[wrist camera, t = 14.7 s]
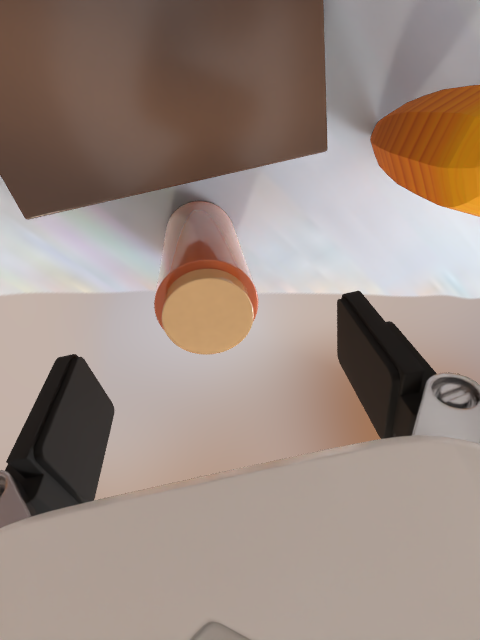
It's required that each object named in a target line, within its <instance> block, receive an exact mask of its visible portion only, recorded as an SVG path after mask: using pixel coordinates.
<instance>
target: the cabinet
mask: <svg viewBox="0 0 480 640" xmlns="http://www.w3.org/2000/svg"><path fill="white" fill-rule="evenodd" d="M325 151H327V117H326V80H325V43H324V5H323V0H0V175H1V177H2V179H3V180H4V182H5V184H6V186H7V187H8V189H9V191H10V193H11V194H12V196H13V198H14V200H15V201H16V203H17V205H18V207H19V208H20V210H21V212H22V214H23V215H24V217H25V219H33V218H37V217H41V216H46V215H50V214H54V213H59V212H63V211H68V210H72V209H76V208H81V207H85V206H89V205H94V204H98V203H103V202H107V201H111V200H116V199H120V198H124V197H129V196H133V195H138V194H142V193H146V192H151V191H155V190H159V189H164V188H168V187H172V186H177V185H181V184H186V183H190V182H194V181H199V180H203V179H207V178H212V177H216V176H221V175H225V174H229V173H234V172H238V171H242V170H247V169H251V168H256V167H260V166H264V165H269V164H273V163H277V162H282V161H286V160H291V159H295V158H299V157H304V156H308V155H312V154H317V153H321V152H325Z"/></svg>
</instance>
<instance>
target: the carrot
mask: <svg viewBox="0 0 480 640" xmlns="http://www.w3.org/2000/svg"><path fill="white" fill-rule="evenodd" d="M370 140H371V144H372V147H373V150H374V154H375V157H376V159H377V162H378V164H379V166H380V167H381V168H382V169H383V170H384V171H385V173H386V174H387V175H388V176H389V177H390V178H392V179H393V180H394V181H395V182H396V183H397V184H398V185H400V186H402V187H404V188H406V189H407V190H409V191H411V192H413V193H415V194H417V195H419V196H421V197H423V198H425V199H427V200H429V201H431V202H433V203H435V204H437V205H439V206H443V207H447V208H450V209H454V210H457V211H461V212H464V213H468V214H472V215H475V216H479V217H480V85H473V86H465V87H458V88H450V89H443V90H440V91H437V92H434V93H431V94H428V95H425V96H422V97H420V98H417V99H415V100H412V101H410V102H407V103H406V104H404V105H402V106H401V107H399V108H398V109H396V110H395V111H393V112H391V113H390V114H388V115H387V116H385V117H384V118H382V119H381V120H380V121H378V123H377V124H376V126H375V128H374V130H373V132H372V135H371V139H370Z"/></svg>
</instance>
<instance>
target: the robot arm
mask: <svg viewBox="0 0 480 640" xmlns="http://www.w3.org/2000/svg"><path fill="white" fill-rule="evenodd" d="M337 330H338V331H337V346H338V347H337V348H338V349H337V350H338V351H337V352H338V359H339V362H340V364H341V366H342V368H343V370H344V372H345V374H346V375H347V377H348V379H349V381H350V383H351V385H352V387H353V388H354V390H355V392H356V394H357V396H358V398H359V400H360V402H361V403H362V405H363V407H364V409H365V411H366V412H367V414H368V416H369V418H370V420H371V422H372V424H373V426H374V428H375V429H376V431H377V433H378V435H379V436H380V438H381V439H379V440H373V441H368V442H363V443H357V444H352V445H347V446H342V447H337V448H332V449H327V450H322V451H317V452H313V453H308V454H304V455H299V456H294V457H289V458H284V459H280V460H276V461H270V462H266V463H261V464H256V465H252V466H247V467H243V468H239V469H233V470H229V471H224V472H220V473H215V474H211V475H206V476H202V477H197V478H193V479H189V480H183V481H179V482H175V483H170V484H165V485H161V486H157V487H152V488H147V489H143V490H139V491H134V492H130V493H125V494H121V495H116V496H112V497H108V498H103V499H99V500H94V498H95V494H96V490H97V485H98V481H99V477H100V472H101V468H102V464H103V460H104V455H105V451H106V446H107V442H108V438H109V434H110V429H111V425H112V421H113V416H114V406H113V404H112V402H111V400H110V399H109V397H108V396H107V394H106V393H105V391H104V390H103V388H102V386H101V385H100V383H99V382H98V380H97V379H96V377H95V375H94V374H93V372H92V371H91V369H90V368H89V366H88V365H87V363H86V361H85V360H84V359H83V358H82V357H78V356H77V355H76V354H72V355H68V356H64V357H59V358H57V359H56V361H55V363H54V365H53V367H52V369H51V371H50V373H49V375H48V377H47V379H46V381H45V384H44V385H43V387H42V389H41V391H40V394H39V396H38V398H37V400H36V402H35V404H34V406H33V408H32V410H31V412H30V414H29V416H28V418H27V420H26V423H25V424H24V426H23V428H22V431H21V433H20V435H19V437H18V439H17V441H16V443H15V445H14V447H13V449H12V451H11V453H10V455H9V457H8V459H7V461H6V462H7V463H8V466H7V467H6V470H5V471H3V470H0V640H480V385H479V384H478V383H477V382H475V381H474V380H472V379H470V378H468V377H466V376H463V375H460V374H456V373H439V374H436V372H435V371H434V370H433V369H432V368H431V367H430V365H429V364H428V363H427V362H426V361H425V359H424V358H423V357H422V356H421V355H420V354H419V353H418V351H417V350H416V349H415V348H414V347H413V345H412V344H411V343H410V342H409V341H408V340H407V338H406V337H405V336H404V335H403V334H402V333H401V331H400V330H399V329H398V328H397V327H396V326H395V324H393V323H392V322H385V321H384V320H383V318H382V317H381V316H380V315H379V314H378V313H377V311H376V310H375V309H374V308H373V306H372V305H371V304H370V303H369V301H368V300H367V299H366V298H365V297H364V295H363V294H362V293H361V292H360V291H355V292H351V293H346V294H343V295H342V299H339V300H338V301H337Z"/></svg>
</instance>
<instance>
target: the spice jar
mask: <svg viewBox="0 0 480 640" xmlns="http://www.w3.org/2000/svg"><path fill="white" fill-rule="evenodd" d="M154 305H155V307H154V308H155V313H156V317H157V320H158V322H159V323H160V325H161V327H162V328H163V329H164V330H165V332H166V334H167V335H168V337H169V338H170V339H171V340H172V341H173V342H174V343H175V344H176V345H177V346H179V347H180V348H182V349H184V350H186V351H189V352H192V353H197V354H215V353H220V352H224V351H226V350H229V349H231V348H233V347H234V346H236V345H237V344H239V343H240V342H241V341H242V340H243V339H244V338H245V337H246V335H247V334H248V332H249V331H250V328H251V326H252V323H253V321H254V319H255V317H256V314H257V310H258V295H257V291H256V288H255V285H254V282H253V279H252V277H251V274H250V271H249V268H248V266H247V263H246V260H245V257H244V254H243V252H242V249H241V246H240V243H239V240H238V238H237V235H236V232H235V229H234V226H233V224H232V221H231V219H230V218H229V216H228V215H227V214H226V212H225V211H224V210H223V209H221V208H220V207H218V206H217V205H215V204H212V203H209V202H205V201H194V202H190V203H187V204H184V205H182V206H181V207H179V208H178V209H177V210H176V211H175V212H174V213H173V214H172V215H171V217H170V219H169V221H168V223H167V226H166V232H165V239H164V245H163V251H162V257H161V264H160V270H159V276H158V282H157V289H156V296H155V303H154Z"/></svg>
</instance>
